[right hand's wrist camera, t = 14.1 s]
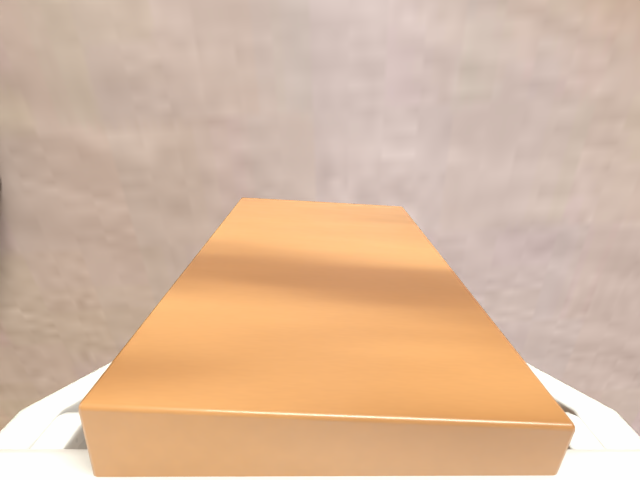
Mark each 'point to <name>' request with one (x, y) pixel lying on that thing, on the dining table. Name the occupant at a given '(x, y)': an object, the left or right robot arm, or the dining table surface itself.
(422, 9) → the dining table surface
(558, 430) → the box
